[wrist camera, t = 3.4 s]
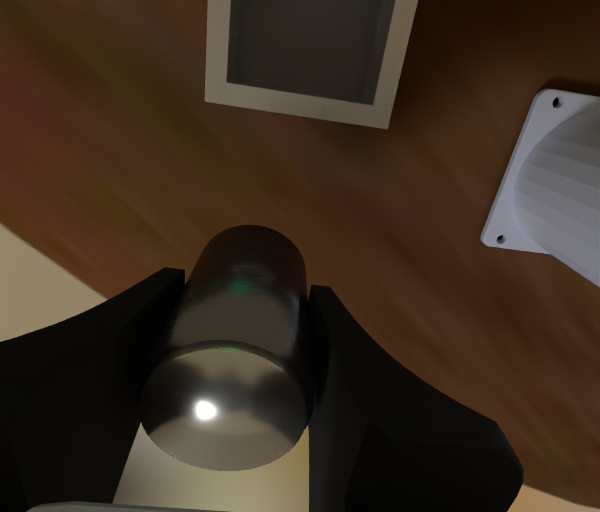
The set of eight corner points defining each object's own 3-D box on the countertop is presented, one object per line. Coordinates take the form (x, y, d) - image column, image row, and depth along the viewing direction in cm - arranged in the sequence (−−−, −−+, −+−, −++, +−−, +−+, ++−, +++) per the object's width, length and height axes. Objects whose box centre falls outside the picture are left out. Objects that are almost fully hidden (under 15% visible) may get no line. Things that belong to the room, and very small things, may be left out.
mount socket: (406, -64, 15) (443, -109, 11) (368, 118, 18) (387, 129, 14) (232, -99, 14) (212, -157, 11) (223, 96, 17) (204, 101, 14)
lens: (313, 232, 13) (330, 355, 7) (297, 324, 15) (300, 482, 9) (199, 217, 13) (123, 334, 7) (196, 313, 14) (133, 469, 9)
